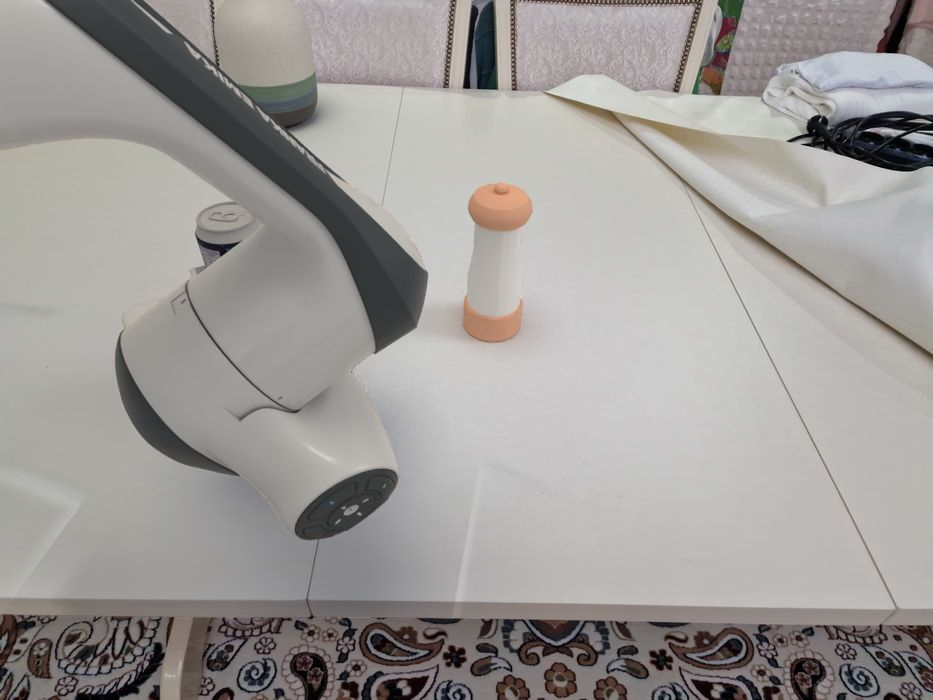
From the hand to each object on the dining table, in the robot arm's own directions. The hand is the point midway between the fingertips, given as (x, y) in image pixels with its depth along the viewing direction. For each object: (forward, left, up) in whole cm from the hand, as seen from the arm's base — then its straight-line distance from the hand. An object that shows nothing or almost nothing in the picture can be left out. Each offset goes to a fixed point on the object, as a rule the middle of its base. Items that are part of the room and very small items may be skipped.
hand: (237, 263), depth 57 cm
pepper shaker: (+19, +20, -17) cm, 33 cm away
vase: (-41, +65, -17) cm, 79 cm away
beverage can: (+1, -1, -7) cm, 7 cm away
